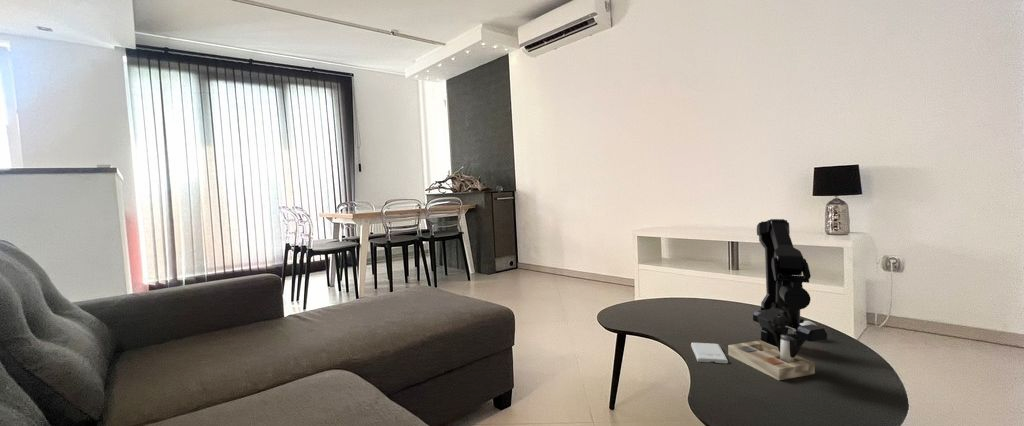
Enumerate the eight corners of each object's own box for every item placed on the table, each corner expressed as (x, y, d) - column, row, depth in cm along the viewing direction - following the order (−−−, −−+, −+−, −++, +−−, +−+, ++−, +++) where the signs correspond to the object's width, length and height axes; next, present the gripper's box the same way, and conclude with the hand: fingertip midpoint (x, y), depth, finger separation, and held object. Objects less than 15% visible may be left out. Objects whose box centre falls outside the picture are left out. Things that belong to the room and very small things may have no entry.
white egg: (821, 341, 141) (821, 324, 141) (800, 339, 143) (800, 323, 143) (813, 333, 148) (814, 317, 148) (794, 332, 150) (794, 316, 150)
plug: (786, 360, 124) (786, 332, 123) (796, 365, 121) (797, 336, 120) (777, 362, 123) (777, 334, 122) (787, 366, 120) (787, 338, 119)
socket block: (760, 349, 136) (760, 339, 136) (814, 373, 119) (814, 362, 118) (728, 354, 133) (728, 344, 133) (778, 380, 115) (779, 368, 115)
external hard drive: (718, 348, 139) (728, 365, 127) (691, 347, 141) (697, 363, 129) (718, 343, 139) (728, 359, 127) (691, 342, 141) (697, 357, 129)
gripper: (737, 294, 127) (737, 346, 128) (794, 312, 109) (793, 372, 110) (768, 290, 130) (768, 341, 131) (829, 307, 112) (828, 366, 113)
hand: (787, 354), depth 121 cm, fingers closed on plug, 3 cm apart
